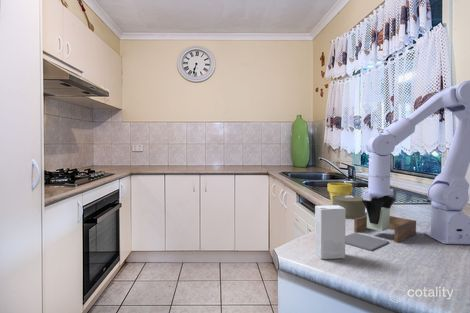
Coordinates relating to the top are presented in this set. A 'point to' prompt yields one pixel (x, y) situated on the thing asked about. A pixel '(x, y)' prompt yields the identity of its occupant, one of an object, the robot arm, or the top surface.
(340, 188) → the plant pot
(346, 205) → the can
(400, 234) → the walnut u-shaped frame
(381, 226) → the sage block
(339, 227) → the skincare box
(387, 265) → the top surface
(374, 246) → the charcoal mat
